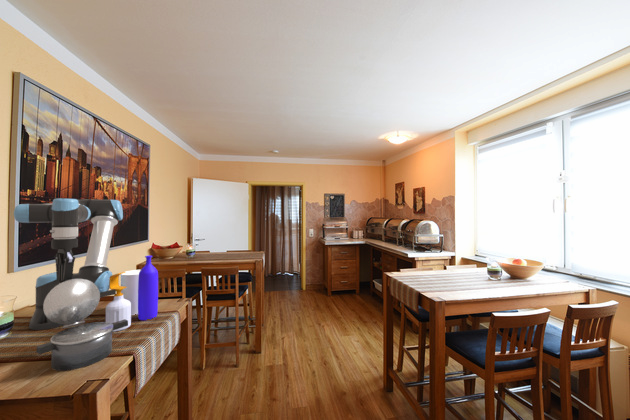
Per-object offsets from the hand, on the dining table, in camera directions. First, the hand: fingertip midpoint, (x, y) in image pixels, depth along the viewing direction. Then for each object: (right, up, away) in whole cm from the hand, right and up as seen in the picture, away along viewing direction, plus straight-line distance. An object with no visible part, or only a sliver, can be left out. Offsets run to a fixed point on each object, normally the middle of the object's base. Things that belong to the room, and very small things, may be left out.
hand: (63, 298), depth 103 cm
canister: (+4, -18, +36) cm, 40 cm away
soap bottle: (+10, -18, +15) cm, 25 cm away
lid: (+10, 0, -2) cm, 10 cm away
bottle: (+16, -18, +27) cm, 36 cm away
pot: (+16, -18, -8) cm, 25 cm away
